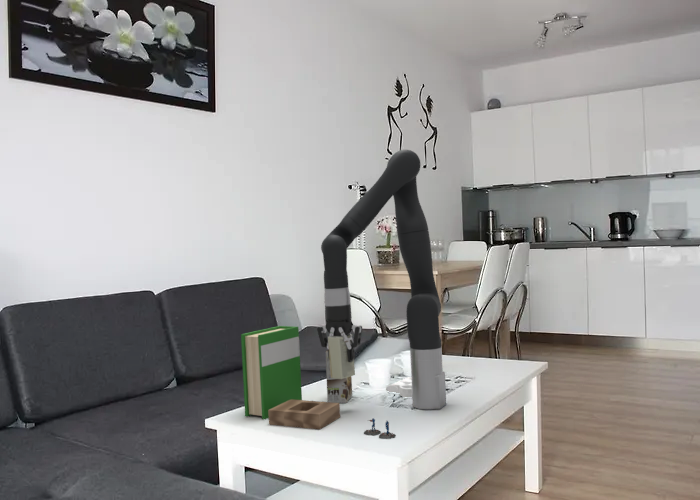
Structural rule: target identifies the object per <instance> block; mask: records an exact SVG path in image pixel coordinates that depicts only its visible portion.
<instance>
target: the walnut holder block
mask: <svg viewBox="0 0 700 500" xmlns="http://www.w3.org/2000/svg"><path fill="white" fill-rule="evenodd" d="M340 404H341V403H332V402H327V401H315V400H303V399H302V400H293V399H291V400H288V401H286V402H284V403H282V404H280V405H278V406H276V407H274V408H272V409H269V410H268V415H269V418H268V425H269V424H270V425H271V426H280V427H291V428H302V429H308V430H309V429H310V430H321V429H323V428H325V427H327V426H329V425H330V424H332V423H333V422H335V421H336V420H338V419H340V418H341V405H340Z"/></svg>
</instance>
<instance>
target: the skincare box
mask: <svg viewBox="0 0 700 500" xmlns="http://www.w3.org/2000/svg"><path fill="white" fill-rule="evenodd" d="M351 336H352V337H353V334H352V333H351ZM347 338H350V335H348V336H347ZM327 339H328V345H329V359H330V372H331V378H335V379H344V378H347V377H350V376H351V377H353V376H355V375H356V369H355V367H356V366H355V359H354V360H353V362H348V352H347V350H348V347H347V345H346V343H345V342H344V340H343V337H342V336H333V337H329V336H327Z"/></svg>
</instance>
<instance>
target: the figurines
mask: <svg viewBox="0 0 700 500" xmlns="http://www.w3.org/2000/svg"><path fill="white" fill-rule="evenodd" d="M368 421H370V423H372V425H371V429H366V430H364V432H363V434H364V435H366V436H376V435H378V437H379V438H380V439H389V440H391V439H395V438H396V436H397V435H396V434H395V433H393V432H390V422H389V420H385V424H384V425H385V429H386V432H385V431H384V432H382V431H381V430H380V429H377V428H376V423H375V422H376V419H375V417H374V418H372V419H368V420H367V422H368Z"/></svg>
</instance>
